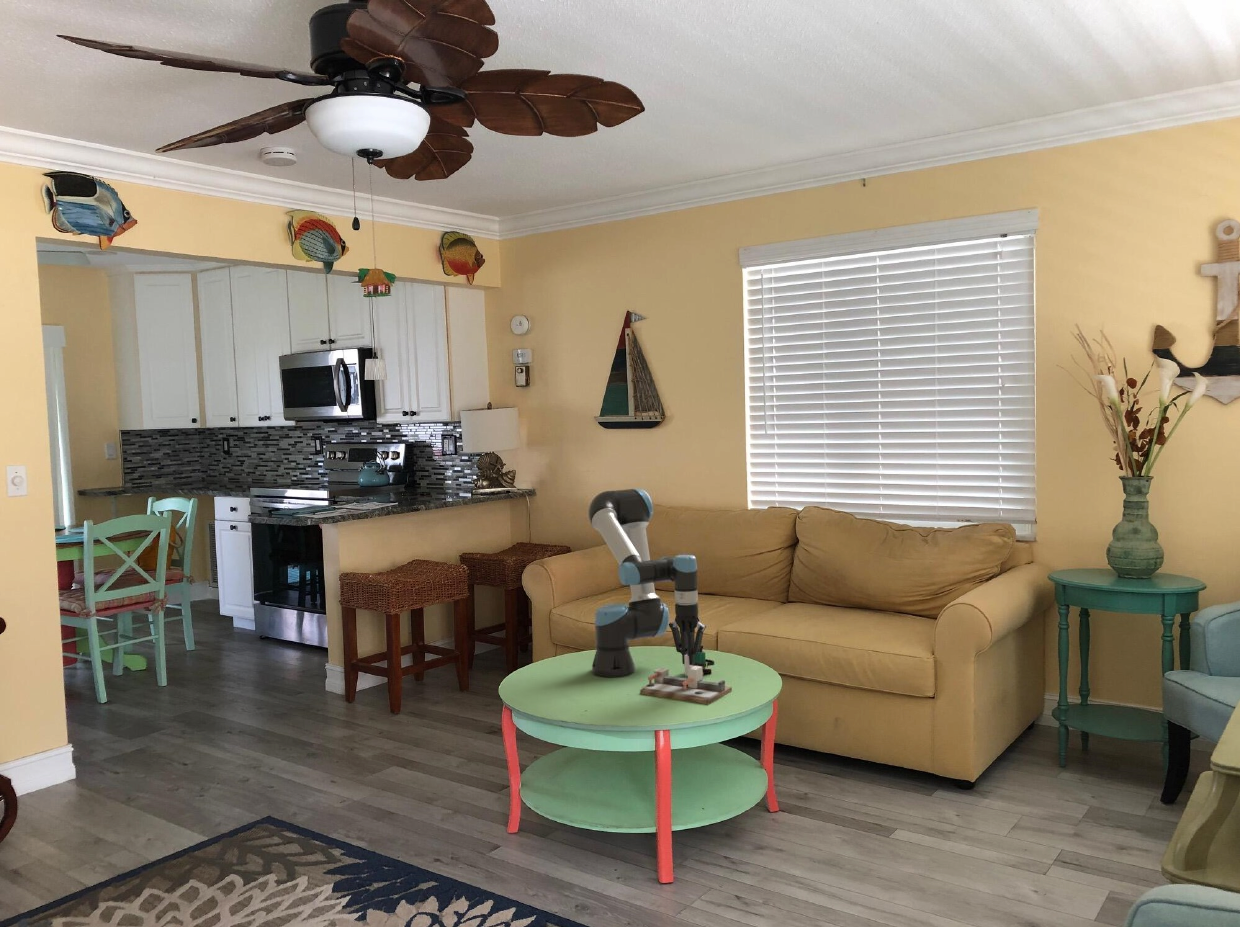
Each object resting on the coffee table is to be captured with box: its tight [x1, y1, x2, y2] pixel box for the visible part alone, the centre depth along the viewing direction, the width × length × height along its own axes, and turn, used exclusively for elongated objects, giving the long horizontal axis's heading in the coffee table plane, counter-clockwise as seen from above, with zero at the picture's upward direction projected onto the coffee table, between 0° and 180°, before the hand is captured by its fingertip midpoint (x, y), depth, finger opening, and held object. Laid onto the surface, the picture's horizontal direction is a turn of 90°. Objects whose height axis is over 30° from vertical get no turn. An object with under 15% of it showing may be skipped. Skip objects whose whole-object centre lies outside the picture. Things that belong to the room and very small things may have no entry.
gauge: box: [639, 667, 733, 705], centre depth 305 cm, size 25×16×5 cm, turn 57°
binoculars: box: [683, 645, 715, 674], centre depth 327 cm, size 9×11×10 cm
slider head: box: [683, 666, 704, 690], centre depth 304 cm, size 3×10×6 cm, turn 147°
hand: (688, 674), depth 308 cm, fingers closed
